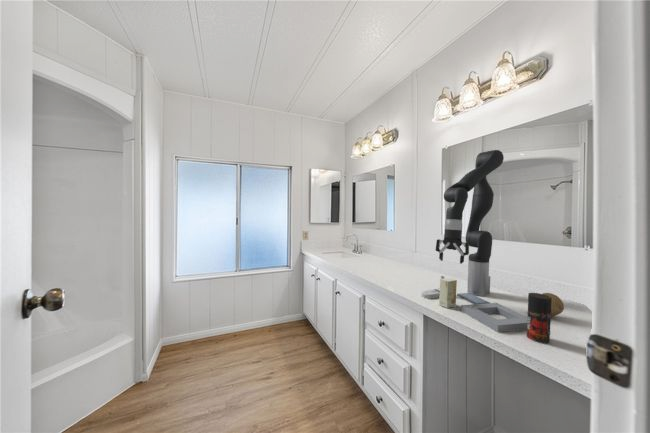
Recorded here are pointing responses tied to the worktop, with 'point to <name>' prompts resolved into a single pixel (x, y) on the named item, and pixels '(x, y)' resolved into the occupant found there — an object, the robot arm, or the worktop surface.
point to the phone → (472, 298)
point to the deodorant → (539, 317)
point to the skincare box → (447, 292)
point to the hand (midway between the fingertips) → (451, 261)
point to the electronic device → (431, 292)
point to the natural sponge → (555, 304)
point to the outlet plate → (500, 325)
